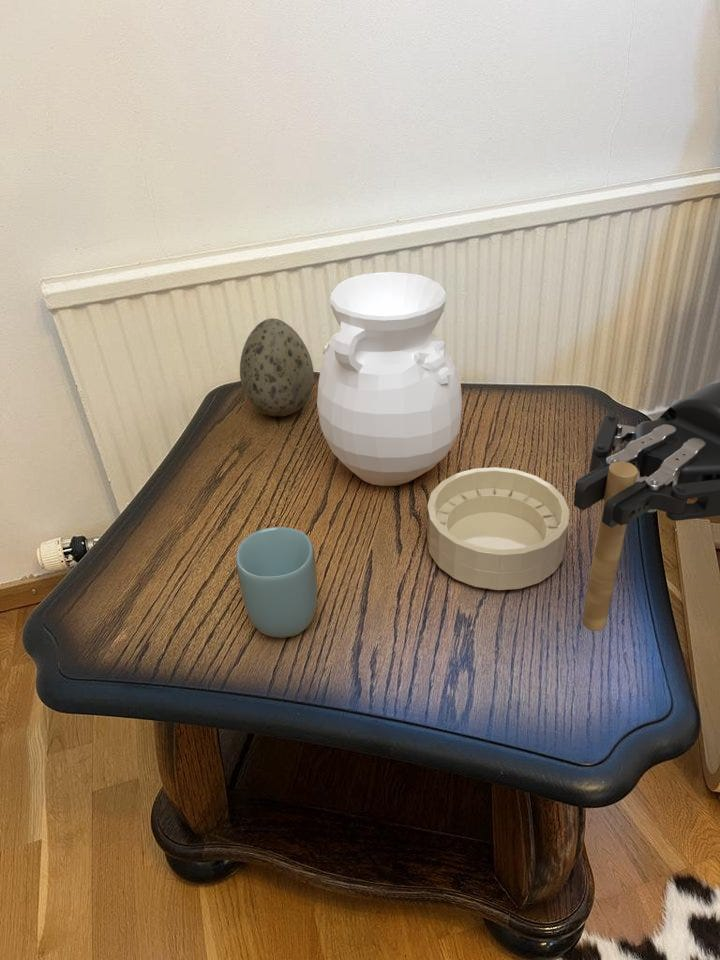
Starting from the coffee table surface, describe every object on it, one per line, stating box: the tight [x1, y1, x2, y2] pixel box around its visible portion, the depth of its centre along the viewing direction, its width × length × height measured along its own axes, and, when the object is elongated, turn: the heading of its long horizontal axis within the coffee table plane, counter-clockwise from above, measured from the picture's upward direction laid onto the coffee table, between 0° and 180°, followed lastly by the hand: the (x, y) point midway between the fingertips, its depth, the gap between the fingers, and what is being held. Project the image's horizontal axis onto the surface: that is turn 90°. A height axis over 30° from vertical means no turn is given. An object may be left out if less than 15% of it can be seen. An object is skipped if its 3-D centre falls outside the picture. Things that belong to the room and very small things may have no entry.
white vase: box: [316, 271, 463, 487], centre depth 95 cm, size 19×18×25 cm
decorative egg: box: [239, 317, 315, 418], centre depth 111 cm, size 11×11×15 cm
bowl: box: [426, 466, 571, 591], centre depth 87 cm, size 16×16×6 cm
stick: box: [581, 461, 638, 632], centre depth 60 cm, size 2×2×16 cm
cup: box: [235, 526, 318, 639], centre depth 78 cm, size 8×8×10 cm
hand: (593, 506), depth 55 cm, fingers closed on stick, 2 cm apart
